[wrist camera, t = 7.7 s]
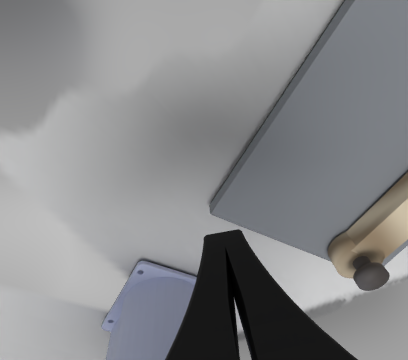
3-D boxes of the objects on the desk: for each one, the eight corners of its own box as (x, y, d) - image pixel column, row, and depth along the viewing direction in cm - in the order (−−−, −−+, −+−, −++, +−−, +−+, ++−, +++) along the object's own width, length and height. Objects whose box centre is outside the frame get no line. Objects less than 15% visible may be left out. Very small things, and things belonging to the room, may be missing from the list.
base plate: (365, 268, 27) (371, 277, 26) (209, 205, 22) (210, 214, 21) (534, 113, 20) (550, 118, 19) (363, -28, 15) (374, -30, 14)
